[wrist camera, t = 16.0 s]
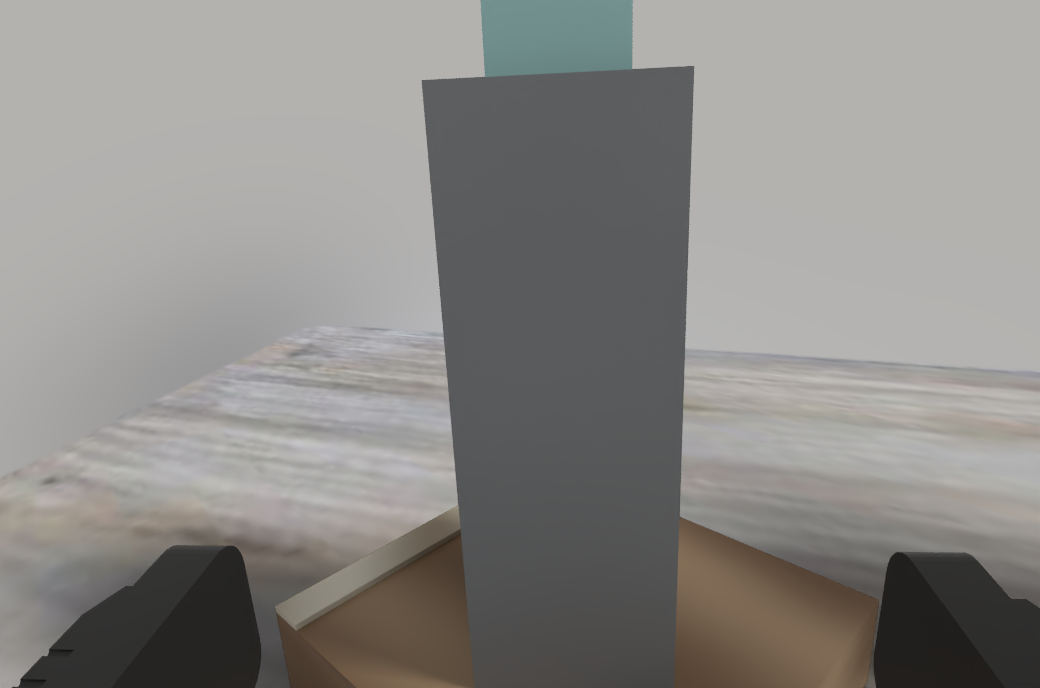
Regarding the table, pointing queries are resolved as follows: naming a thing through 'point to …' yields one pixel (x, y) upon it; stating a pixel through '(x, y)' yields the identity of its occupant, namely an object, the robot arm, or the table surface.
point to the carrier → (565, 364)
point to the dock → (699, 619)
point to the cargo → (556, 36)
